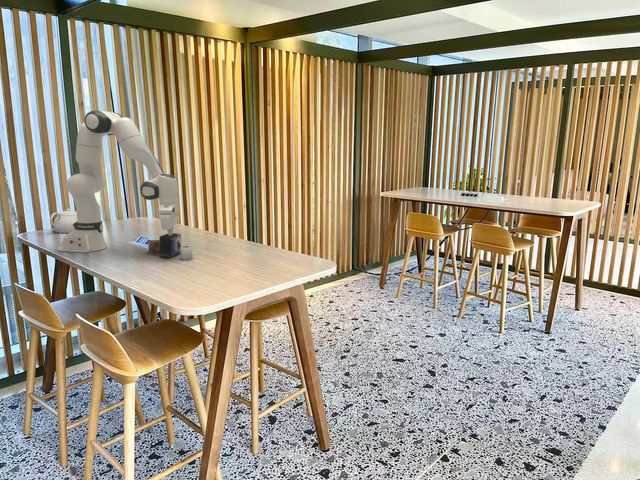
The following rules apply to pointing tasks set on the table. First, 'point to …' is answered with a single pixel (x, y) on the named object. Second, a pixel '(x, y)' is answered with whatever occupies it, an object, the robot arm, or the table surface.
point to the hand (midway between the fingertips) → (170, 235)
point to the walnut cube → (154, 246)
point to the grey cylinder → (186, 252)
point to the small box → (170, 245)
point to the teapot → (64, 221)
